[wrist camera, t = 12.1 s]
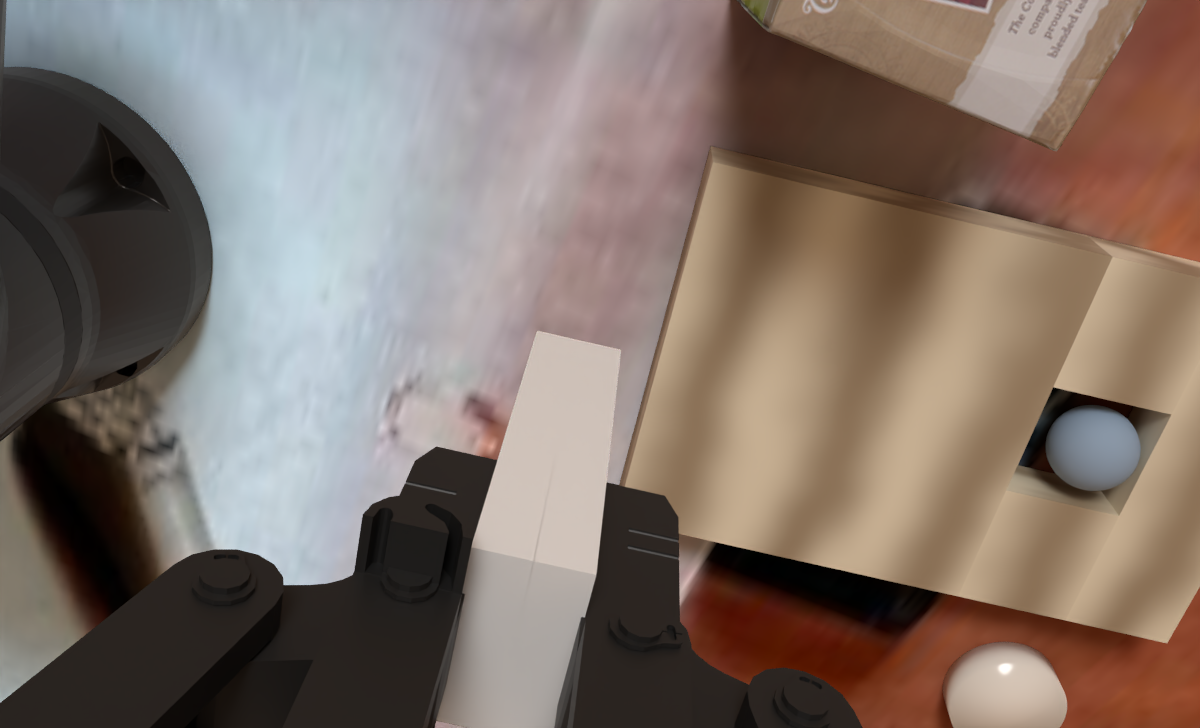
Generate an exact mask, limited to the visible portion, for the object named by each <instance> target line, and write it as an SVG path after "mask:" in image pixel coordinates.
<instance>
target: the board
mask: <svg viewBox="0 0 1200 728" xmlns="http://www.w3.org/2000/svg"><path fill="white" fill-rule="evenodd" d="M1053 387H1054V388H1059V389H1063V390H1067V391H1071V392H1076V393H1080V394H1084V395H1089V396H1093V397H1097V398H1102V399H1106V400H1110V401H1115V402H1119V403H1123V404H1127V405H1132V406H1133V408H1132V410H1131V412H1130V414H1129V416H1128V418H1127V419H1128V420H1129V421H1130V423H1131V424H1132V425H1133V427H1134V428H1135V430H1136V432H1137V434H1138V437H1139V440H1140V446H1141V452H1140V459H1139V462H1138V465H1137V467H1136V469H1135V470H1134V472H1133V473H1132V474H1131V476H1130V477H1129V478H1128V479H1127V480H1125V481H1124V482H1123V483H1121V484H1120V485H1118V486H1116V487H1113V488H1111V489H1107V490H1102V491H1088V490H1082V489H1079V488H1076V487H1073V486H1071V485H1069V484H1068V483H1066V482H1065V481H1063V480H1062V479H1061V478H1060V477H1059V476H1058V475H1057V474H1054V473H1049V472H1045V471H1041V470H1036V469H1032V468H1028V467H1023V466H1019V465H1018V463H1019V461H1020V459H1021V457H1022V455H1023V452H1024V450H1025V448H1026V446H1027V444H1028V441H1029V439H1030V437H1031V435H1032V433H1033V430H1034V428H1035V426H1036V424H1037V422H1038V420H1039V417H1040V415H1041V413H1042V411H1043V409H1044V406H1045V404H1046V402H1047V400H1048V398H1049V395H1050V393H1051V391H1052V389H1053ZM619 485H620V486H624V487H629V488H633V489H638V490H642V491H646V492H651V493H655V494H660V495H664V496H665V497H666V498H667V500H668V501H669V503H670V505H671V506H672V508H673V509H674V511H675V513H676V514H677V516H678V517H679V534H682V535H686V536H691V537H695V538H699V539H704V540H708V541H713V542H717V543H722V544H726V545H731V546H735V547H740V548H744V549H749V550H753V551H757V552H762V553H766V554H771V555H775V556H780V557H784V558H789V559H793V560H798V561H802V562H807V563H811V564H816V565H820V566H824V567H829V568H833V569H838V570H842V571H847V572H851V573H856V574H860V575H865V576H869V577H874V578H878V579H882V580H887V581H891V582H896V583H900V584H905V585H909V586H914V587H918V588H923V589H927V590H932V591H936V592H941V593H945V594H949V595H954V596H958V597H963V598H967V599H972V600H976V601H981V602H985V603H990V604H994V605H999V606H1003V607H1007V608H1012V609H1016V610H1021V611H1025V612H1030V613H1034V614H1039V615H1043V616H1048V617H1052V618H1057V619H1061V620H1065V621H1070V622H1074V623H1079V624H1083V625H1088V626H1092V627H1097V628H1101V629H1106V630H1110V631H1115V632H1119V633H1124V634H1128V635H1132V636H1137V637H1141V638H1146V639H1150V640H1155V641H1159V642H1164V643H1167V642H1168V641H1169V639H1170V637H1171V636H1172V634H1173V632H1174V630H1175V629H1176V627H1177V625H1178V623H1179V622H1180V620H1181V618H1182V616H1183V615H1184V613H1185V611H1186V609H1187V608H1188V606H1189V604H1190V602H1191V601H1192V599H1193V597H1194V596H1195V594H1196V592H1197V590H1198V589H1199V587H1200V262H1197V261H1192V260H1188V259H1184V258H1180V257H1176V256H1171V255H1167V254H1163V253H1159V252H1155V251H1150V250H1146V249H1142V248H1138V247H1133V246H1129V245H1125V244H1121V243H1117V242H1112V241H1108V240H1104V239H1100V238H1096V237H1091V236H1087V235H1083V234H1079V233H1075V232H1070V231H1066V230H1062V229H1058V228H1053V227H1049V226H1045V225H1041V224H1037V223H1032V222H1028V221H1024V220H1020V219H1016V218H1011V217H1007V216H1003V215H999V214H995V213H990V212H986V211H982V210H978V209H974V208H969V207H965V206H961V205H957V204H952V203H948V202H944V201H940V200H936V199H931V198H927V197H923V196H919V195H915V194H910V193H906V192H902V191H898V190H894V189H889V188H885V187H881V186H877V185H872V184H868V183H864V182H860V181H856V180H851V179H847V178H843V177H839V176H835V175H830V174H826V173H822V172H818V171H814V170H809V169H805V168H801V167H797V166H793V165H788V164H784V163H780V162H776V161H771V160H767V159H763V158H759V157H755V156H750V155H746V154H742V153H738V152H734V151H729V150H725V149H721V148H717V147H713V146H710V150H709V154H708V158H707V161H706V165H705V169H704V172H703V176H702V180H701V183H700V187H699V191H698V195H697V198H696V202H695V206H694V209H693V213H692V217H691V221H690V224H689V228H688V232H687V235H686V239H685V243H684V247H683V250H682V254H681V258H680V261H679V265H678V269H677V273H676V276H675V280H674V284H673V287H672V291H671V295H670V299H669V302H668V306H667V310H666V313H665V317H664V321H663V324H662V328H661V332H660V336H659V339H658V343H657V347H656V350H655V354H654V358H653V362H652V365H651V369H650V373H649V376H648V380H647V384H646V388H645V391H644V395H643V399H642V402H641V406H640V410H639V414H638V417H637V421H636V425H635V428H634V432H633V436H632V440H631V443H630V447H629V451H628V454H627V458H626V462H625V466H624V469H623V473H622V477H621V480H620V484H619Z"/></svg>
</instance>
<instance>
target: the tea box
mask: <svg viewBox="0 0 1200 728" xmlns="http://www.w3.org/2000/svg"><path fill="white" fill-rule="evenodd" d="M737 1H738V2H739V3H740V4H741V6H742V7H743V8H744V9H745V10H746V11H747V12H748V13H749V14H750V15H751V16H752V17H753V18H754V19H755V20H756V21H757V22H758V23H759V24H760V25H761V27H762V28H764V29H765V30H766V31H768V32H769V33H772V34H775V35H778V36H780V37H783V38H785V39H788V40H790V41H793V42H795V43H798V44H800V45H802V46H805V47H807V48H810V49H812V50H814V51H817V52H819V53H822V54H824V55H826V56H829V57H831V58H834V59H836V60H839V61H841V62H843V63H846V64H848V65H850V66H853V67H855V68H857V69H860V70H862V71H864V72H867V73H869V74H871V75H874V76H876V77H878V78H881V79H883V80H886V81H888V82H890V83H893V84H895V85H897V86H900V87H902V88H905V89H907V90H909V91H912V92H914V93H917V94H919V95H921V96H924V97H926V98H928V99H931V100H933V101H936V102H938V103H941V104H943V105H945V106H948V107H950V108H953V109H955V110H958V111H960V112H962V113H965V114H967V115H970V116H972V117H975V118H977V119H979V120H982V121H984V122H987V123H989V124H992V125H994V126H996V127H999V128H1001V129H1004V130H1006V131H1009V132H1011V133H1013V134H1016V135H1018V136H1021V137H1023V138H1025V139H1028V140H1030V141H1032V142H1035V143H1037V144H1039V145H1042V146H1044V147H1046V148H1048V149H1051V150H1053V151H1057V150H1058V149H1059V148H1060V147H1061V145H1062V143H1063V141H1064V140H1065V138H1066V136H1067V135H1068V133H1069V132H1070V130H1071V129H1072V127H1073V126H1074V124H1075V122H1076V121H1077V119H1078V118H1079V116H1080V115H1081V113H1082V111H1083V110H1084V108H1085V106H1086V105H1087V103H1088V101H1089V100H1090V98H1091V96H1092V95H1093V93H1094V91H1095V90H1096V88H1097V86H1098V85H1099V83H1100V81H1101V80H1102V78H1103V76H1104V75H1105V73H1106V71H1107V69H1108V67H1109V66H1110V64H1111V63H1112V61H1113V60H1114V58H1115V57H1116V55H1117V54H1118V52H1119V50H1120V47H1121V45H1122V44H1123V42H1124V41H1125V39H1126V38H1127V36H1128V35H1129V33H1130V31H1131V29H1132V27H1133V25H1134V23H1135V21H1136V19H1137V18H1138V16H1139V15H1140V13H1141V11H1142V10H1143V8H1144V6H1145V4H1146V1H1147V0H737Z"/></svg>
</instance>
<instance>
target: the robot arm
mask: <svg viewBox="0 0 1200 728" xmlns="http://www.w3.org/2000/svg"><path fill="white" fill-rule="evenodd" d="M5 24H6V0H0V441H1V440H3V439H4V438H5V437H6V436H8V435H9V434H10V433H11V432H12V431H14V430H15V429H16V428H17V427H18V426H20V425H21V424H22V423H23V422H24V421H26V420H27V419H28V418H29V417H30V416H32V415H33V414H34V413H35V412H36V411H37V410H38V409H40V408H41V407H42V406H43V405H45V404H49V403H53V402H57V401H61V400H65V399H69V398H73V397H77V396H81V395H85V394H89V393H93V392H97V391H101V390H105V389H108V388H111V387H114V386H117V385H120V384H122V383H124V382H127V381H129V380H131V379H132V378H134V377H136V376H138V375H140V374H141V373H143V372H144V371H146V370H148V369H149V368H150V367H152V366H153V365H154V364H155V363H157V362H158V361H159V360H160V359H161V358H162V357H163V356H164V355H165V354H167V353H168V352H169V351H170V350H171V349H172V348H173V347H174V346H175V345H176V344H177V343H178V342H180V340H181V339H182V338H183V337H184V336H185V335H186V334H187V332H188V331H189V330H190V328H191V327H192V325H193V324H194V322H195V320H196V319H197V317H198V315H199V313H200V311H201V309H202V306H203V304H204V301H205V298H206V295H207V291H208V287H209V282H210V276H211V263H212V253H211V241H210V233H209V228H208V223H207V219H206V216H205V212H204V209H203V206H202V203H201V201H200V198H199V196H198V193H197V191H196V189H195V186H194V185H193V183H192V181H191V179H190V177H189V175H188V173H187V172H186V170H185V168H184V167H183V165H182V163H181V162H180V160H179V159H178V158H177V156H176V155H175V153H174V152H173V151H172V149H171V148H170V147H169V146H168V144H167V143H166V142H165V141H164V140H163V138H162V137H161V136H160V135H159V134H158V133H157V132H156V131H155V130H154V129H153V128H152V127H151V126H150V125H149V124H148V123H147V122H146V121H145V120H144V119H142V118H141V117H140V116H139V115H138V114H137V113H135V112H134V111H133V110H132V109H130V108H129V107H128V106H126V105H125V104H123V103H122V102H121V101H119V100H118V99H116V98H115V97H113V96H111V95H109V94H108V93H106V92H104V91H103V90H101V89H99V88H97V87H95V86H93V85H91V84H88V83H86V82H84V81H81V80H79V79H76V78H73V77H70V76H68V75H64V74H61V73H57V72H53V71H48V70H43V69H37V68H29V67H4V49H5ZM620 355H621V350H619V349H615V348H611V347H606V346H602V345H597V344H593V343H589V342H584V341H580V340H576V339H571V338H567V337H563V336H558V335H554V334H550V333H545V332H541V331H537V333H536V336H535V339H534V342H533V346H532V349H531V352H530V356H529V359H528V362H527V365H526V369H525V372H524V375H523V378H522V382H521V385H520V388H519V392H518V395H517V398H516V401H515V405H514V408H513V411H512V415H511V418H510V421H509V424H508V428H507V431H506V434H505V437H504V441H503V444H502V447H501V451H500V454H499V457H498V460H493V459H489V458H485V457H480V456H476V455H471V454H467V453H462V452H458V451H454V450H449V449H445V448H440V447H435V448H434V449H432V450H431V451H429V452H428V453H426V454H425V455H423V456H422V457H420V458H419V459H417V460H416V461H415V462H414V465H413V467H412V469H411V471H410V473H409V476H408V478H407V480H406V484H405V485H404V487H403V489H402V491H401V493H400V496H395V497H388V498H386V499H383V500H381V501H379V502H376V503H374V504H372V505H371V506H370V508H369V509H368V510H367V511H366V512H365V513H364V514H363V518H362V524H361V531H360V538H359V544H358V551H357V558H356V565H355V571H354V573H353V575H352V576H350V577H348V578H345V579H343V580H340V581H336V582H332V583H328V584H318V585H283V576H282V575H281V574H280V572H279V571H278V569H277V568H276V567H275V565H274V564H272V563H271V562H269V561H267V560H266V559H264V558H262V557H261V556H259V555H256V554H252V553H248V552H244V551H240V550H210V551H206V552H201V553H197V554H193V555H191V556H189V557H187V558H185V559H183V560H181V561H180V562H178V563H176V564H174V565H173V566H172V567H170V568H169V569H168V570H167V571H165V572H164V573H163V574H162V575H160V576H159V577H158V578H157V579H155V580H154V581H153V582H152V583H150V584H149V585H148V586H147V587H145V588H144V589H143V590H142V591H140V592H139V593H138V594H137V595H135V596H134V597H133V598H131V599H130V600H129V601H128V602H126V603H125V604H124V605H123V606H121V607H120V608H119V609H118V610H116V611H115V612H114V613H113V614H111V615H110V616H109V617H108V618H106V619H105V620H104V621H103V622H101V623H100V624H99V625H98V626H96V627H95V628H94V629H93V630H91V631H90V632H89V633H88V634H86V635H85V636H84V637H83V638H81V639H80V640H79V641H77V642H76V643H75V644H74V645H72V646H71V647H70V648H69V649H67V650H66V651H65V652H64V653H62V654H61V655H60V656H59V657H57V658H56V659H55V660H54V661H52V662H51V663H50V664H49V665H47V666H46V667H45V668H44V669H42V670H41V671H40V672H39V673H37V674H36V675H35V676H34V677H32V678H31V679H30V680H28V681H27V682H26V683H25V684H23V685H22V686H21V687H20V688H18V689H17V690H16V691H15V692H13V693H12V694H11V695H10V696H8V697H7V698H6V699H5V700H3V701H2V702H1V703H0V728H435V723H436V721H440V722H444V723H449V724H453V725H458V726H463V727H467V728H862V726H861V724H860V722H859V720H858V718H857V716H856V714H855V712H854V710H853V709H852V707H851V706H850V705H849V703H848V702H847V701H846V699H845V698H844V697H843V695H842V694H841V693H839V692H838V691H837V690H836V689H834V688H833V687H832V686H830V685H829V684H828V683H827V682H825V681H824V680H821V679H819V678H817V677H815V676H813V675H811V674H808V673H806V672H804V671H799V670H793V669H788V668H776V669H767V670H765V671H763V672H761V673H760V674H758V675H756V676H754V677H753V679H752V681H751V683H750V685H748V684H746V683H744V682H742V681H739V680H737V679H735V678H733V677H731V676H729V675H727V674H724V673H723V672H721V671H719V670H717V669H716V668H714V667H712V666H710V665H709V664H708V663H706V662H705V661H704V660H703V659H701V658H700V657H699V656H698V655H697V654H696V653H695V652H694V651H693V650H692V649H691V642H690V639H689V635H688V632H687V630H686V628H685V627H684V626H683V625H682V624H681V622H680V605H679V560H678V558H679V543H678V540H679V517H678V516H677V514H676V513H675V511H674V509H673V508H672V506H671V505H670V503H669V501H668V500H667V498H666V497H665V496H664V495H660V494H655V493H651V492H646V491H642V490H638V489H633V488H629V487H624V486H620V485H615V484H611V483H606V482H607V473H608V464H609V455H610V446H611V437H612V428H613V419H614V409H615V400H616V391H617V382H618V373H619V364H620Z"/></svg>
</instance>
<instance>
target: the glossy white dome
mask: <svg viewBox="0 0 1200 728" xmlns="http://www.w3.org/2000/svg"><path fill="white" fill-rule="evenodd" d="M943 697H944V700H945V703H946V707H947V710H948V713H949V716H950V720H951V723H952V725H953V727H954V728H1060V726H1061V725H1062V723H1063V721H1064V719H1065V716H1066V712H1067V699H1066V696H1065V693H1064V691H1063V688H1062V686H1061V684H1060V682H1059V680H1058V678H1057V675H1056V673H1055V671H1054V669H1053V667H1052V665H1051V663H1050V662H1049V660H1048V659H1047V658H1046V657H1045V656H1044V655H1043V654H1042V653H1040V652H1039V651H1038V650H1036V649H1034V648H1032V647H1030V646H1027V645H1024V644H1020V643H1014V642H995V643H989V644H985V645H981V646H979V647H976V648H974V649H972V650H970V651H968V652H966V653H965V654H963V655H962V656H961V657H959V658H958V659H957V660H956V661H955V662H954V663H953V664H952V665H951V667H950V668H949V670H948V671H947V673H946V675H945V678H944V682H943Z"/></svg>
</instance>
